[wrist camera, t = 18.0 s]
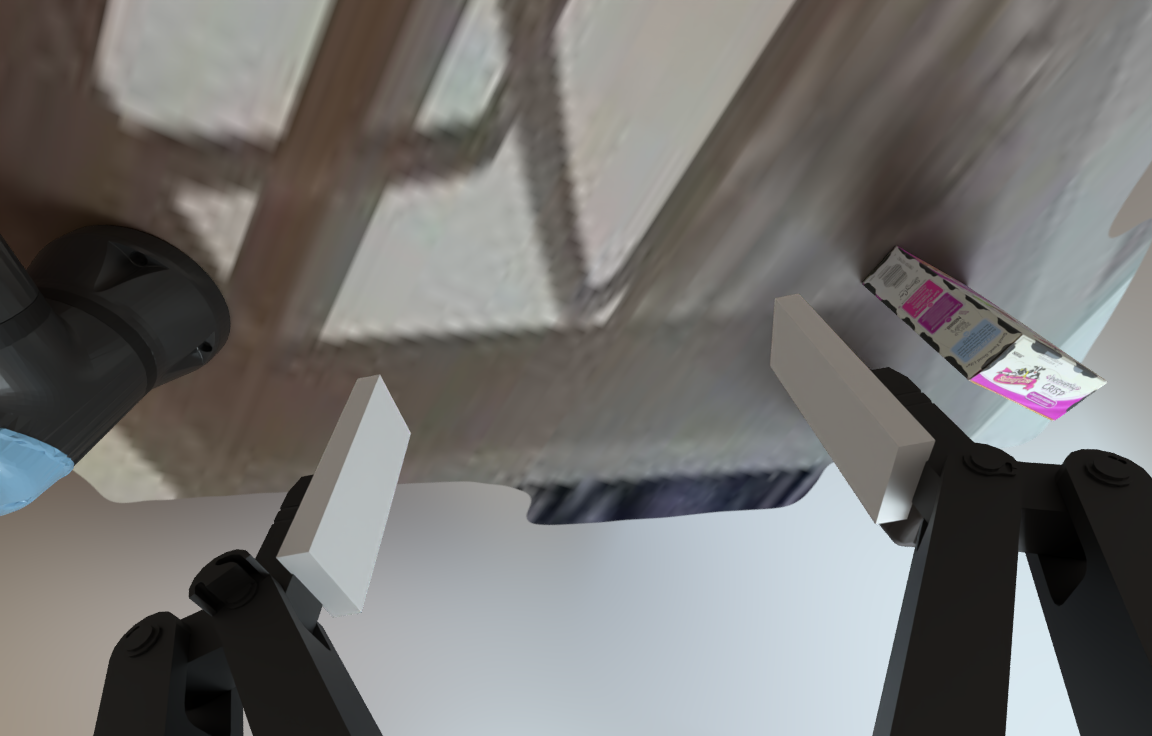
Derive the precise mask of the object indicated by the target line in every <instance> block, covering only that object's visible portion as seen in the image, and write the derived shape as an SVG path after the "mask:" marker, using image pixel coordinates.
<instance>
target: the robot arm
mask: <svg viewBox="0 0 1152 736" xmlns="http://www.w3.org/2000/svg"><path fill="white" fill-rule="evenodd" d="M229 332H230V316H229V311H228V308H227V305H226V302H225V300H224V298H223V296H222V294H221V292H220V291H219V289H218V287H217V286H216V285H215V283H214V282H213V281H212V279H211V278H210V277H209V276H208V275H207V274H206V272H205V271H204V270H203V269H202V268H201V267H200V266H198V265H197V264H196V263H195V262H194V261H193V260H192V259H190V258H189V257H188V256H186V255H185V254H184V253H182V252H181V251H179V250H178V249H176V248H175V247H173V246H171V245H170V244H168V243H166V242H164V241H162V240H160V239H158V238H156V237H153V236H151V235H149V234H146V233H143V232H140V231H137V230H133V229H129V228H125V227H119V226H110V225H95V226H88V227H83V228H80V229H77V230H74V231H72V232H70V233H68V234H66V235H64V236H62V237H60V238H57V239H55V240H54V241H52V242H50V243H49V244H48V245H46V246H45V247H44V248H43V249H42V250H41V251H40V252H39V253H38V255H37V256H36V257H35V259H34V260H33V261H32V263H31V264H30V265H29V267H28V268H27V269H26V270H25V268H24V267H23V266H22V264H21V263H20V261H19V260H18V258H17V257H16V255H15V254H14V253H13V251H12V250H11V248H10V247H9V245H8V244H7V242H6V241H5V240H4V238H3V237H2V235H1V234H0V516H1V515H5V514H8V513H11V512H14V511H17V510H19V509H21V508H23V507H25V506H26V505H28V504H30V503H31V502H32V501H33V500H35V499H36V498H37V497H38V496H39V495H41V494H42V493H43V492H44V491H45V490H47V489H48V488H49V487H50V486H51V485H53V484H54V483H55V482H56V481H58V480H59V479H60V478H62V477H65V476H66V475H68V474H69V473H70V472H71V470H72V469H73V468H74V466H75V465H76V464H77V463H78V462H79V461H80V460H81V459H82V458H83V457H84V456H85V455H86V454H87V453H88V452H89V451H90V450H91V449H92V448H93V447H94V446H95V445H96V444H97V443H98V442H99V441H100V440H101V439H102V438H103V437H104V436H105V435H106V434H107V433H108V432H109V431H110V430H111V429H112V428H113V427H114V426H115V425H116V424H117V423H118V422H119V421H120V420H121V419H122V418H123V417H124V416H125V415H126V414H127V413H128V412H129V411H130V410H131V409H132V408H133V407H134V406H135V405H136V404H137V403H138V402H139V401H140V400H141V399H142V398H143V397H144V396H145V395H146V394H147V393H148V392H149V391H150V390H152V389H153V388H156V387H158V386H160V385H163V384H165V383H167V382H170V381H172V380H174V379H177V378H179V377H181V376H184V375H186V374H188V373H191V372H193V371H195V370H197V369H199V368H201V367H202V366H204V365H205V364H206V363H208V362H209V361H210V360H211V359H212V358H213V357H214V356H215V355H216V354H217V353H218V352H219V351H220V350H221V348H222V347H223V346H224V344H225V343H226V341H227V339H228V336H229ZM770 367H771V368H772V370H773V371H774V373H775V374H776V376H777V377H778V379H779V380H780V382H781V383H782V385H783V386H784V388H785V389H786V391H787V392H788V394H789V395H790V397H791V398H792V400H793V401H794V403H795V404H796V406H797V407H798V409H799V410H800V412H801V413H802V415H803V416H804V418H805V419H806V421H807V422H808V424H809V425H810V427H811V428H812V430H813V431H814V433H815V434H816V436H817V437H818V439H819V440H820V442H821V443H822V445H823V446H824V448H825V449H826V451H827V452H828V454H829V455H830V457H831V458H832V460H833V461H834V463H835V464H836V466H837V467H838V469H839V470H840V472H841V473H842V475H843V476H844V478H845V479H846V481H847V482H848V484H849V485H850V487H851V488H852V490H853V491H854V493H855V494H856V496H857V497H858V499H859V500H860V502H861V503H862V505H863V506H864V508H865V509H866V511H867V512H868V514H869V515H870V517H871V518H872V520H873V521H874V523H875V524H881V523H887V522H893V521H898V520H904V519H907V518H908V515H909V512H910V509H911V507H912V504H913V505H914V506H915V507H916V508H917V510H918V511H919V512H920V514H921V515H922V516H923V519H922V521H921V524H920V526H919V529H918V531H917V534H916V537H915V539H914V542H913V543H914V544H916V545H915V550H914V554H913V559H912V564H911V568H910V572H909V577H908V581H907V585H906V590H905V594H904V599H903V603H902V607H901V612H900V616H899V621H898V625H897V630H896V634H895V639H894V643H893V647H892V652H891V656H890V660H889V665H888V669H887V674H886V678H885V683H884V687H883V692H882V696H881V701H880V705H879V709H878V713H877V718H876V722H875V727H874V731H873V736H1005V731H1006V718H1007V703H1008V689H1009V675H1010V661H1011V646H1012V632H1013V618H1014V603H1015V589H1016V576H1017V561H1018V552H1025V553H1026V557H1027V560H1028V563H1029V567H1030V570H1031V573H1032V577H1033V580H1034V583H1035V586H1036V590H1037V593H1038V597H1039V600H1040V603H1041V606H1042V610H1043V613H1044V616H1045V620H1046V623H1047V626H1048V630H1049V633H1050V636H1051V640H1052V643H1053V646H1054V650H1055V653H1056V656H1057V660H1058V663H1059V666H1060V669H1061V673H1062V676H1063V679H1064V683H1065V686H1066V689H1067V692H1068V696H1069V699H1070V703H1071V706H1072V709H1073V713H1074V716H1075V719H1076V723H1077V726H1078V729H1079V733H1080V736H1152V478H1151V477H1150V475H1149V474H1148V473H1147V472H1146V471H1145V470H1144V469H1143V468H1142V467H1140V466H1138V465H1137V464H1135V463H1134V462H1132V461H1131V460H1129V459H1127V458H1124V457H1121V456H1119V455H1117V454H1114V453H1110V452H1106V451H1101V450H1097V449H1096V450H1095V449H1081V450H1078V451H1074V452H1071V453H1070V454H1069V455H1068V456H1067V458H1066V459H1065V460H1064V462H1063V464H1062V465H1056V464H1043V463H1028V462H1018V461H1016V460H1015V459H1014V458H1013V457H1012V456H1010V455H1009V454H1007V453H1006V452H1004V451H1003V450H1001V449H998V448H995V447H993V446H990V445H987V444H981V443H974V442H973V441H972V440H971V439H970V438H969V437H968V436H967V435H966V434H965V433H964V432H963V431H962V430H961V429H960V428H959V427H958V426H957V425H956V424H955V423H954V422H953V421H952V420H951V419H950V418H948V417H947V416H946V415H945V414H944V413H943V412H942V411H941V410H940V409H939V408H938V407H937V406H936V405H935V404H934V403H933V404H932V402H931V400H930V399H929V398H928V397H927V396H926V395H925V394H924V393H921V390H920V389H919V388H918V387H917V386H916V385H915V384H914V383H913V382H912V381H911V380H910V379H909V378H908V377H906V376H904V375H902V374H901V373H899V372H897V371H895V370H893V369H891V368H889V367H887V368H881V369H876V370H871V371H870V370H869V368H868V367H867V366H866V365H865V364H864V363H863V362H862V361H861V360H860V359H859V358H858V357H857V356H856V354H855V353H854V352H853V351H852V350H851V349H850V348H849V347H848V346H847V345H846V344H845V343H844V342H843V341H842V339H841V338H840V337H839V336H838V335H837V334H836V333H835V332H834V331H833V330H832V329H831V328H830V327H829V325H828V324H827V323H826V322H825V321H824V320H823V319H822V318H821V317H820V316H819V315H818V314H817V313H816V311H815V310H814V309H813V308H812V307H811V306H810V305H809V304H808V303H807V302H806V301H805V300H804V299H803V298H802V296H801V295H800V294H794V295H789V296H784V297H779V298H775V305H774V319H773V333H772V347H771V361H770ZM410 434H411V433H410V431H409V429H408V427H407V425H406V423H405V421H404V420H403V418H402V416H401V414H400V412H399V410H398V408H397V406H396V404H395V402H394V401H393V399H392V397H391V395H390V393H389V391H388V389H387V387H386V385H385V383H384V382H383V380H382V378H381V376H380V375H375V376H369V377H364V378H359V379H357V381H356V383H355V386H354V388H353V390H352V392H351V394H350V397H349V399H348V401H347V403H346V405H345V408H344V410H343V412H342V414H341V416H340V419H339V421H338V423H337V425H336V427H335V429H334V432H333V434H332V436H331V438H330V440H329V443H328V445H327V447H326V449H325V451H324V454H323V456H322V458H321V460H320V462H319V465H318V467H317V469H316V471H315V473H314V475H309V476H304V477H301V478H300V479H299V481H298V482H297V483H296V484H295V485H294V486H293V487H292V488H291V489H290V491H289V492H288V493H287V496H286V497H285V499H284V502H283V503H282V505H281V508H280V509H281V511H279V512H278V514H277V516H276V518H275V520H274V524H272V526H271V528H270V530H269V532H268V534H267V536H266V538H265V540H264V542H263V544H262V546H261V548H260V550H259V552H258V554H257V556H256V558H255V559H254V558H253V557H252V556H251V555H250V554H249V553H248V552H247V551H246V550H238V549H236V550H233V551H229V552H226V553H224V554H222V555H220V556H218V557H216V558H215V559H213V560H212V561H211V562H210V563H208V564H207V565H206V566H205V567H203V568H202V570H201V571H200V572H199V573H198V574H197V576H196V577H195V578H194V580H193V582H192V584H191V586H190V588H189V598H190V599H191V600H192V601H193V602H195V603H196V604H197V605H198V606H199V607H201V608H202V609H203V610H201V611H198V612H196V613H194V614H192V615H190V616H187V617H185V618H183V619H181V620H180V619H179V618H177V617H176V616H175V615H173V614H172V613H170V612H158V613H155V614H153V615H150V616H148V617H146V618H144V619H143V620H141V621H140V622H138V623H137V624H135V625H134V626H133V627H132V628H131V629H130V630H129V631H128V632H127V633H126V634H124V636H123V637H122V638H121V639H120V641H119V642H118V643H117V645H116V646H115V648H114V650H113V652H112V655H111V657H110V660H109V665H108V669H107V674H106V679H105V684H104V688H103V693H102V698H101V703H100V707H99V712H98V717H97V721H96V726H95V731H94V735H93V736H243V708H244V711H245V714H246V717H247V720H248V723H249V726H250V729H251V731H252V734H253V736H383V735H382V733H381V732H380V730H379V728H378V726H377V724H376V722H375V721H374V719H373V717H372V715H371V713H370V712H369V710H368V708H367V706H366V704H365V703H364V701H363V699H362V697H361V695H360V694H359V692H358V690H357V688H356V686H355V685H354V682H353V681H352V679H351V677H350V675H349V673H348V672H347V670H346V668H345V667H344V664H343V663H342V661H341V659H340V657H339V655H338V654H337V652H336V650H335V648H334V647H333V644H332V643H331V641H330V639H329V637H328V636H327V634H326V632H325V630H324V628H323V627H322V626H321V625H320V624H319V623H318V622H317V620H318V617H319V614H320V611H321V608H322V606H323V608H324V609H325V610H326V611H327V612H328V613H329V614H330V615H331V616H332V617H339V616H345V615H351V614H357V613H362V609H363V606H364V602H365V599H366V595H367V591H368V587H369V584H370V580H371V577H372V573H373V569H374V566H375V562H376V558H377V555H378V551H379V547H380V544H381V540H382V536H383V533H384V529H385V526H386V522H387V518H388V515H389V511H390V507H391V504H392V500H393V496H394V493H395V489H396V485H397V482H398V478H399V474H400V471H401V467H402V464H403V460H404V456H405V453H406V449H407V445H408V442H409V438H410Z"/></svg>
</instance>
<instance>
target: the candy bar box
mask: <svg viewBox="0 0 1152 736" xmlns="http://www.w3.org/2000/svg"><path fill="white" fill-rule="evenodd" d="M862 284H863V285H864V286H865V287H866V288H867V289H868V290H869V291H870V292H872V293H873V294H874V295H875V296H876V297H877V298H878V299H879V300H881V301H882V302H883V303H884V304H885V305H886V306H887V307H888V308H890V309H891V310H892V311H893V312H894V313H895V314H896V315H897V316H898V317H899V318H900V319H902V320H903V321H904V322H905V323H906V324H907V325H908V326H910V327H911V328H912V329H913V330H914V331H915V332H916V333H917V334H918V335H919V336H920V337H921V338H923V339H924V340H925V341H926V342H927V343H928V344H929V345H930V346H931V347H932V348H934V349H935V350H936V351H937V352H938V353H939V354H940V355H941V356H943V357H944V358H945V359H946V360H947V361H948V362H949V363H950V364H951V365H952V366H954V367H955V368H956V369H957V370H958V371H959V372H960V373H961V374H962V375H963V376H965V377H966V378H967V379H968V380H969V381H971V382H973V383H975V384H977V385H979V386H981V387H984V388H986V389H988V390H990V391H993V392H995V393H997V394H999V395H1001V396H1003V397H1005V398H1007V399H1009V400H1011V401H1013V402H1015V403H1017V404H1019V405H1021V406H1023V407H1025V408H1027V409H1029V410H1031V411H1033V412H1035V413H1037V414H1039V415H1041V416H1043V417H1046V418H1047V419H1050V420H1052V421H1054V420H1056V419H1058V418H1059V417H1061V416H1062V415H1063V414H1065V413H1066V412H1068V411H1069V410H1070V409H1072V408H1073V407H1075V406H1076V405H1077V404H1078V403H1080V402H1081V401H1082V400H1084V399H1085V398H1086V397H1087V396H1089V395H1090V394H1092V393H1093V392H1095V391H1096V390H1098V389H1099V388H1100V387H1101V386H1103V385H1104V384H1106V383H1107V381H1106V380H1105V379H1103V378H1102V377H1100V376H1099V375H1097V374H1096V373H1094V372H1093V371H1091V370H1090V369H1088V368H1086V367H1085V366H1084V365H1082V364H1081V363H1079V362H1078V361H1076V360H1075V359H1073V358H1072V357H1071V356H1069V355H1068V354H1066V353H1065V352H1063V351H1062V350H1061V349H1059V348H1058V347H1056V346H1055V345H1053V344H1052V343H1050V342H1049V341H1047V340H1046V339H1045V338H1043V337H1042V336H1040V335H1039V334H1037V333H1036V332H1034V331H1033V330H1031V329H1030V328H1028V327H1027V326H1026V325H1024V324H1023V323H1021V322H1020V321H1018V320H1017V319H1015V318H1014V317H1012V316H1011V315H1009V314H1008V313H1006V312H1005V311H1003V310H1002V309H1000V308H999V307H997V306H996V305H995V304H993V303H992V302H990V301H989V300H987V299H986V298H984V297H983V296H981V295H980V294H978V293H977V292H975V291H974V290H972V289H971V288H969V287H968V286H966V285H964V284H963V283H961V282H959V281H958V280H956V279H954V278H952V277H951V276H949V275H947V274H946V273H944V272H942V271H940V270H939V269H937V268H935V267H933V266H931V265H930V264H928V263H926V262H924V261H923V260H921V259H919V258H917V257H916V256H914V255H912V254H910V253H909V252H907V251H905V250H904V249H902V248H900V247H898V246H896V247H895V248H894V249H893V250H892V251H891V252H890V253H889V254H888V255H887V256H886V257H885V259H884V260H883V261H882V262H881V263H880V264H879V265H878V266H877V267H876V268H875V269H874V271H873V272H871V274H870V275H869V276H868V277H867V278H866V279H865V281H864V282H863V283H862Z"/></svg>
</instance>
